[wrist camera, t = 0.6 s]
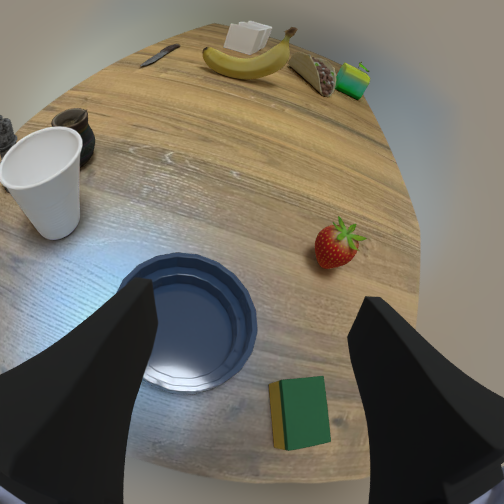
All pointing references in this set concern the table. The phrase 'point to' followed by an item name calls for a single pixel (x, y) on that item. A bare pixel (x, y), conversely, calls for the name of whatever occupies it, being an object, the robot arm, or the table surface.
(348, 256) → the fruit
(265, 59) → the banana
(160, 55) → the knife
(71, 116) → the mate gourd
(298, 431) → the sponge
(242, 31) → the storage container
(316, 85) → the taco
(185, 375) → the bowl
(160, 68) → the table surface
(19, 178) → the cup
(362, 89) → the leaf-topped green cube
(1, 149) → the chess piece
